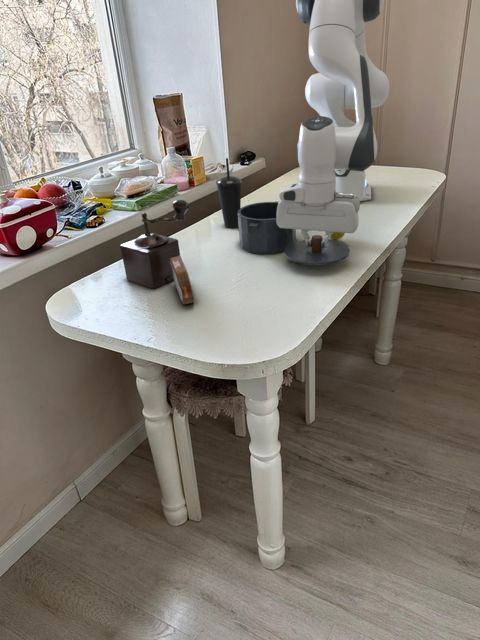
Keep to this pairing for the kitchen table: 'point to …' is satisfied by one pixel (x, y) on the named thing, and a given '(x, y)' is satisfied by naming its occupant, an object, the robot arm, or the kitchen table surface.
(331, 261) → the lid
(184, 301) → the tin
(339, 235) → the lemon
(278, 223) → the robot arm
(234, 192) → the drinking cup
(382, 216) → the kitchen table surface
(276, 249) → the pot
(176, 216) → the manual coffee grinder
